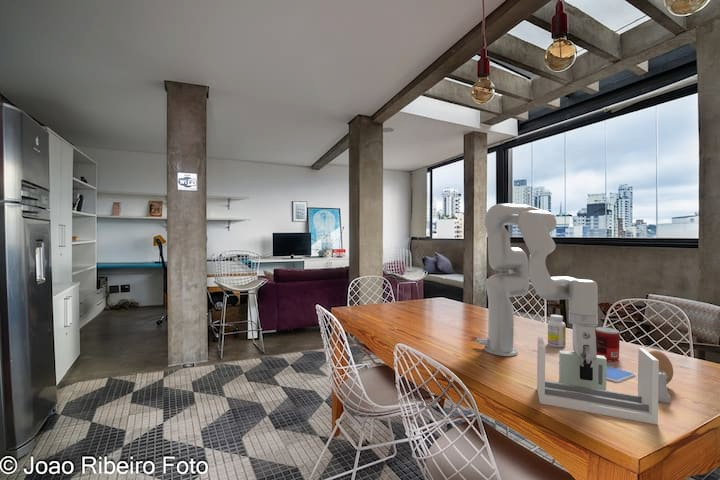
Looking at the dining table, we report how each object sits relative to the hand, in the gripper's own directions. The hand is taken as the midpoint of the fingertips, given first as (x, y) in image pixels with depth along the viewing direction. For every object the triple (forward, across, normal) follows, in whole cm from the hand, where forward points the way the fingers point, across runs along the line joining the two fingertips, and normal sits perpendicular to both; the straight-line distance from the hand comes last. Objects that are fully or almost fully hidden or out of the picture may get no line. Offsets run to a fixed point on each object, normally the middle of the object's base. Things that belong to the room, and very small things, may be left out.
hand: (582, 373), depth 105 cm
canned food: (+4, +34, -14) cm, 37 cm away
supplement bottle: (+4, +43, +2) cm, 44 cm away
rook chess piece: (+4, -1, -19) cm, 19 cm away
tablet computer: (+5, +18, -7) cm, 20 cm away
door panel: (+4, 0, 0) cm, 4 cm away
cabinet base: (+4, -13, 0) cm, 13 cm away
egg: (+4, +11, -22) cm, 25 cm away
